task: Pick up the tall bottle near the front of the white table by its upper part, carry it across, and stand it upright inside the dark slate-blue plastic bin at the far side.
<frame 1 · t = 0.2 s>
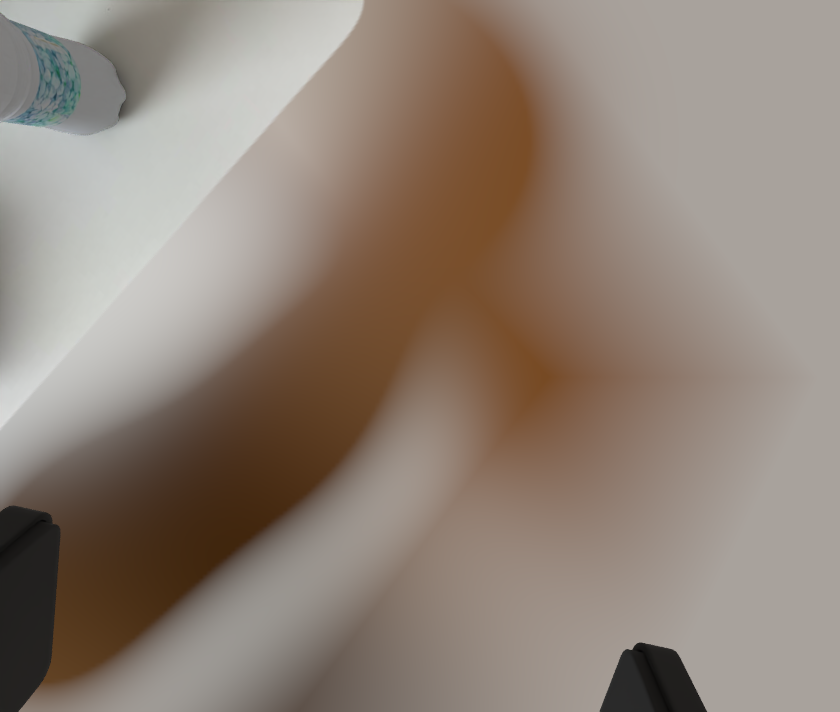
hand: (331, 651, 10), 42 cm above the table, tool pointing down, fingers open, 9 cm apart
bottle: (94, 94, 47), on the table
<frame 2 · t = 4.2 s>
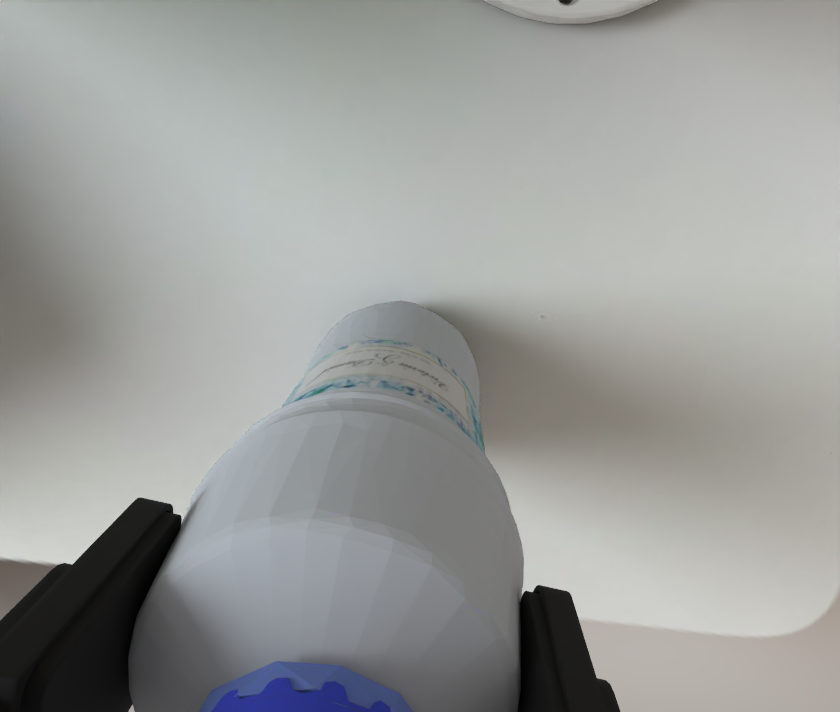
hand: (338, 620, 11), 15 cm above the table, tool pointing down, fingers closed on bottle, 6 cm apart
bottle: (398, 367, 25), on the table, touching gripper
when the fingers open (16 cm above the table, at t = 12.0 s): bottle stays where it is, resting on bin.
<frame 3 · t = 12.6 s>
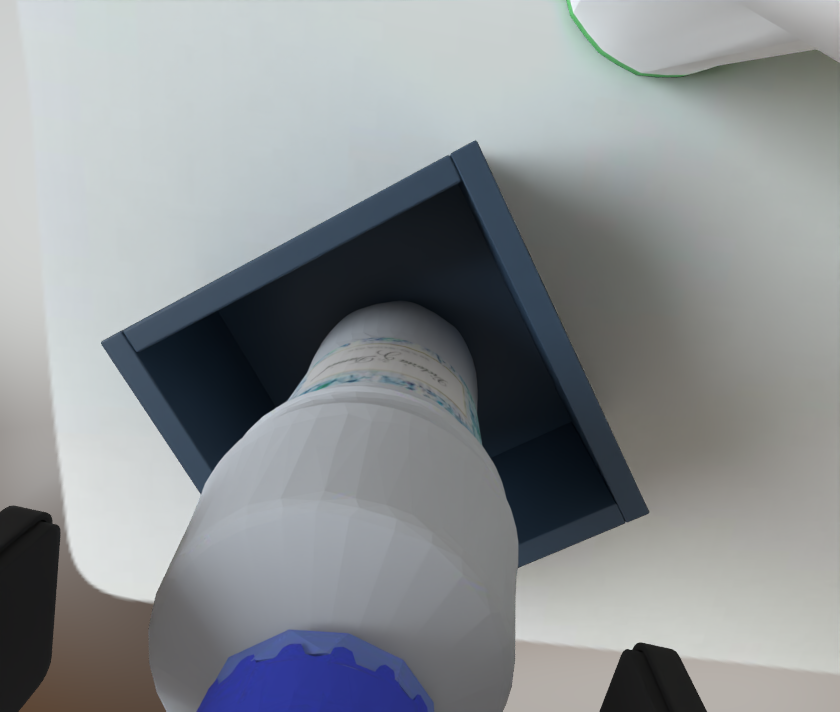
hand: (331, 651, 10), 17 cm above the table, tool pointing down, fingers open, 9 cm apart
bin: (398, 361, 26), on the table
bottle: (398, 365, 26), resting on bin
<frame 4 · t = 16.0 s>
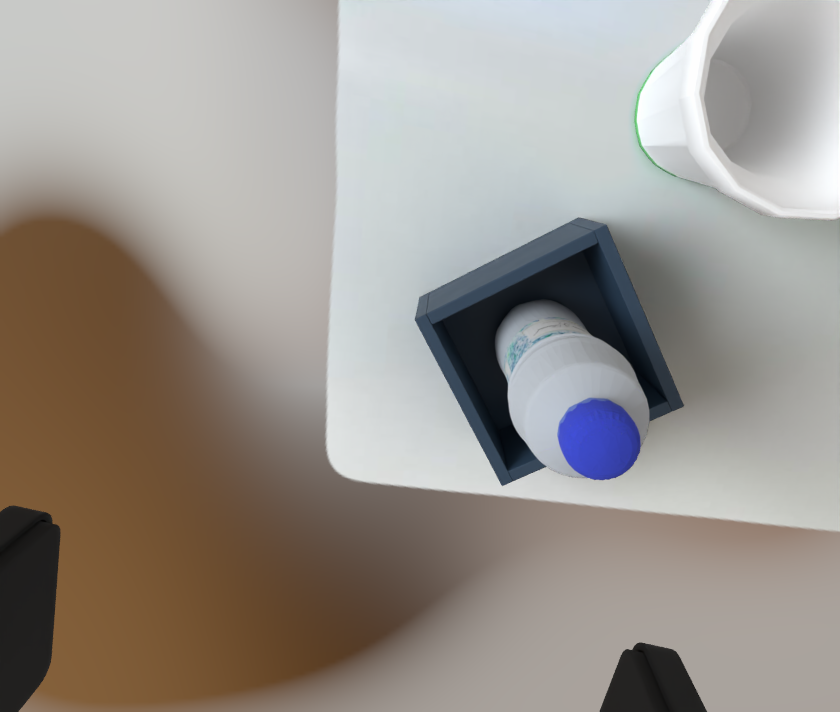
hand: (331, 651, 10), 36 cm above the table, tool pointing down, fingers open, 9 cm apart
cup 2: (696, 112, 41), on the table
bin: (533, 334, 46), on the table
bottle: (535, 336, 45), resting on bin
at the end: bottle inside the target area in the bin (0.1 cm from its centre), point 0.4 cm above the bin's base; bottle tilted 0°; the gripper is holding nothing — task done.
